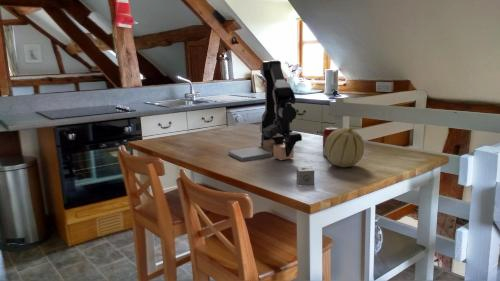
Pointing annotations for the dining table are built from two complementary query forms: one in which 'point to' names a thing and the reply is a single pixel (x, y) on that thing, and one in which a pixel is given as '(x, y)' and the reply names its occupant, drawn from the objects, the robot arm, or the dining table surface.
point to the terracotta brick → (281, 152)
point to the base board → (249, 153)
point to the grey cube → (305, 175)
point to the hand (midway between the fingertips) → (283, 154)
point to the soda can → (325, 135)
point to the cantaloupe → (344, 147)
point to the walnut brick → (268, 145)
